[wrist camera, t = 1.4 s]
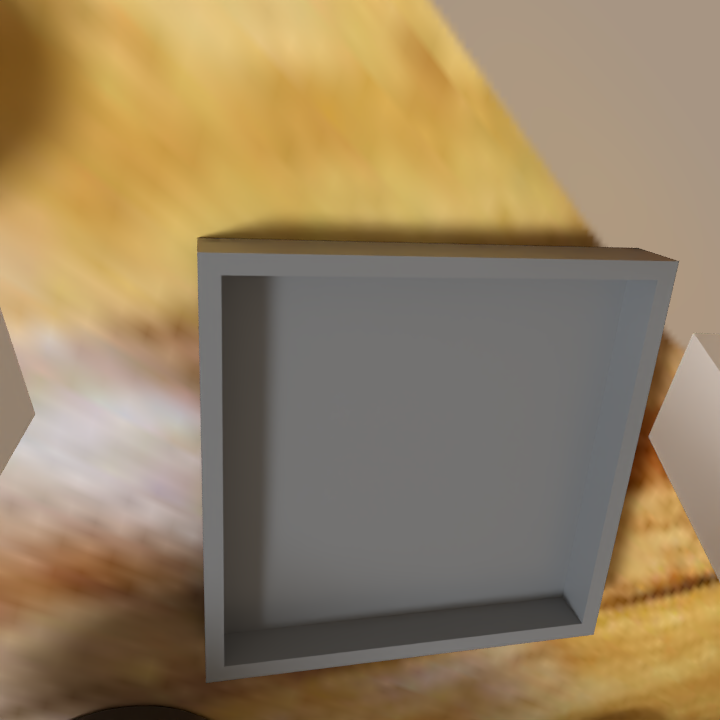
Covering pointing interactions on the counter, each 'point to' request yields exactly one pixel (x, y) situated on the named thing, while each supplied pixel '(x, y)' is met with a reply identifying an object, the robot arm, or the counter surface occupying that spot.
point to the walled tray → (414, 443)
